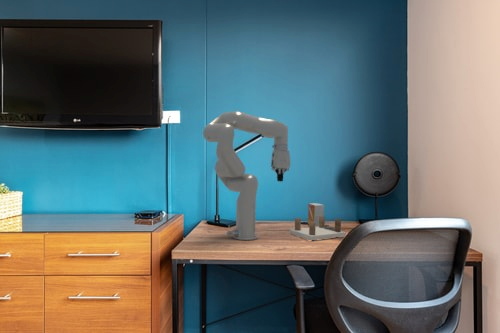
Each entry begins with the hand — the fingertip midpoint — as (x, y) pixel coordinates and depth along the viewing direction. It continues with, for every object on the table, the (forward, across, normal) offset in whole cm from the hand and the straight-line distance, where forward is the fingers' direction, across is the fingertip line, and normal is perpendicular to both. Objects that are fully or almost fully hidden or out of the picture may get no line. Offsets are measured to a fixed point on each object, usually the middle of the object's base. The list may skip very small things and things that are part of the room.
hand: (280, 181), depth 188 cm
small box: (+27, +27, +2) cm, 38 cm away
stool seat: (+27, +11, -19) cm, 35 cm away
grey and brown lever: (+24, +19, -21) cm, 38 cm away
